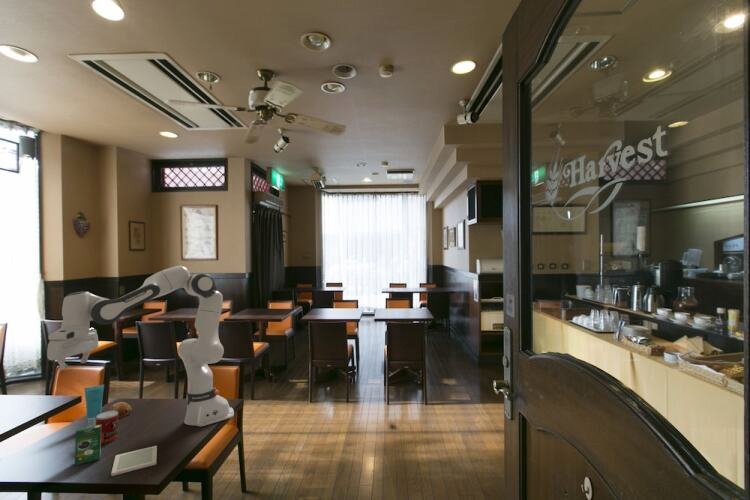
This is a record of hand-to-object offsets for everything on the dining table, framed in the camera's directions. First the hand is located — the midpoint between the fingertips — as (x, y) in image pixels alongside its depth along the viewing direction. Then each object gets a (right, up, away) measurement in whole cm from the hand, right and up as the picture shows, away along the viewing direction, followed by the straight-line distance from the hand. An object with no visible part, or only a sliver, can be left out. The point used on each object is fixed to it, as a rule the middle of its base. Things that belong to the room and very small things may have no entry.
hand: (74, 365), depth 143 cm
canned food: (+4, -37, +12) cm, 39 cm away
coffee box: (+10, -36, -5) cm, 38 cm away
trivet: (+29, -36, -5) cm, 46 cm away
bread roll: (-8, -38, +37) cm, 53 cm away
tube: (-11, -37, +24) cm, 45 cm away
